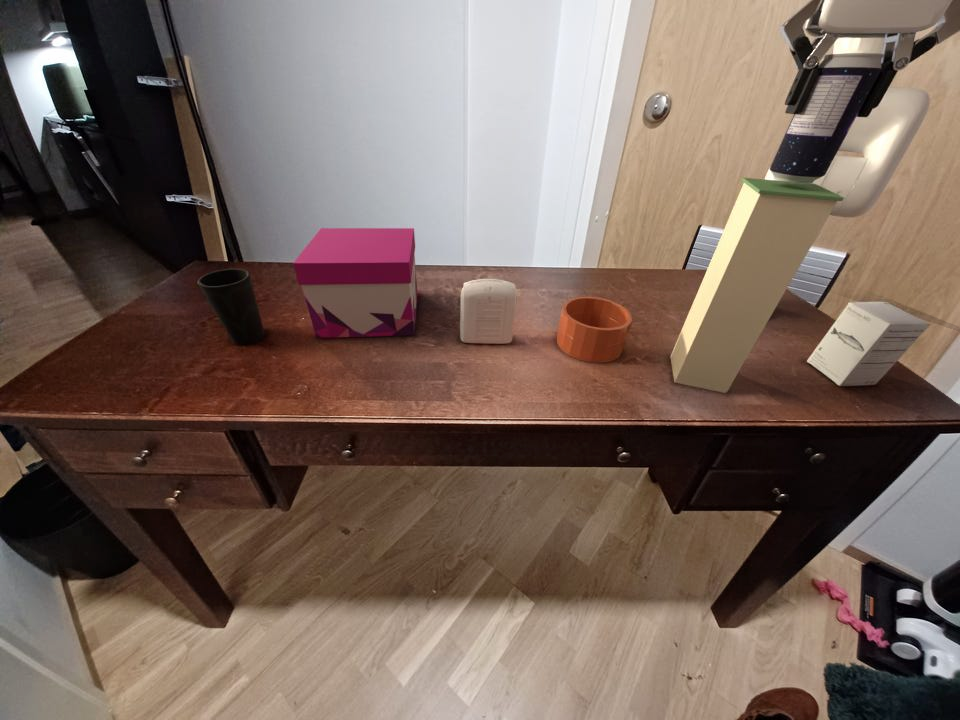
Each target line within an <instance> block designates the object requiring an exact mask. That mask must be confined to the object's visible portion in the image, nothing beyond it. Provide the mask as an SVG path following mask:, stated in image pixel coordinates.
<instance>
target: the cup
mask: <svg viewBox="0 0 960 720" xmlns="http://www.w3.org/2000/svg"><path fill="white" fill-rule="evenodd" d="M197 286H198V287H199V288H200V290H201V292H202V293H203V295H204V296H205V298H206V300H207V302H208V303H209V305H210V307H211V308H212V310H213V313H214V314H215V316H216V317H217V319H218V320H219V322H220V323H221V325H222V327H223V329H224V330H225V332H226V334H227V336H228V337H229V339H230V341H231V343H233V344H235V345H238V346H243V345H244V346H245V345H250V344H253V343H256V342H258V341H260V340H262V339H263V338H264V337H265V335H266V334H265V329H264V324H263V321H262V317H261V314H260V309H259V305H258V301H257V297H256V294H255V290H254V286H253V281H252V277H251V274H250V272H249V271H248V270H245V269H242V268H225V269H220V270H219V269H218V270H215V271H211V272H209V273H206V274H204V275H203V276H201V277H199V279H197Z"/></svg>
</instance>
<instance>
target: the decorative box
mask: <svg viewBox="0 0 960 720" xmlns="http://www.w3.org/2000/svg"><path fill="white" fill-rule="evenodd" d="M415 251H416V236H415V228H414V227H413V228H412V227H409V228H408V227H406V228H405V227H402V228H401V227H398V228H397V227H396V228H395V227H391V228H390V227H383V228H382V227H374V228H373V227H368V228H367V227H362V228H361V227H360V228H359V227H353V228H352V227H343V228H342V227H330V228H329V227H328V228H327V227H321V228H320V229H319V230H318V231H317V233H316V234H315V235H314V236H313V237H312V239H311V240H310V241H309V243H308V244H307V245H306V246H305V247H304V249H303V250H302V251H301V252H300V254H299V255H298V256H297V257H296V259H295V260H294V261H293V262H292V266H293V269H294V273H295V276H296V279H297V283H298V286H301V289H302V292H303V296H304V300H305V302H306V306H307V307H306V308H307V310H308V314H309V316H310V320H311V321H310V322H311V325H312V328H313V331H314V335H315V338H316V339H325V338H327V339H328V338H329V339H330V338H331V339H332V338H361V337H362V338H363V337H398V336H401V337H403V336H415V331H416V330H415V328H416V316H417V305H418V304H417V303H418V282H417V281H418V280H417V268H416V258H415V257H416V256H415V255H416V254H415V253H416V252H415Z"/></svg>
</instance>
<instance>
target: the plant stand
mask: <svg viewBox="0 0 960 720" xmlns="http://www.w3.org/2000/svg"><path fill="white" fill-rule="evenodd" d="M836 203H837V201H834V200H823V199H812V198H802V197H791V196H780V195H769V194H758V193H757V192H756V191H754V190H753V189H752V188H751V187H749V186H748V185H747V184H745V183H744V182H743V184H742V187H741V188H740V191H739V194H738V196H737V199H736V201H735V204H734V205H733V208H732V210H731V213H730V214H729V217H728V219H727V221H726V224H725V227H724V229H723V231H722V234H721V237H720V238H719V240H718V243H717V246H716V247H715V251H714V252H713V255H712V258H711V260H710V261H709V265H708V267H707V269H706V272H705V274H704V276H703V279H702V281H701V283H700V285H699V288H698V291H697V293H696V295H695V298H694V300H693V302H692V305H691V307H690V309H689V311H688V314H687V317H686V319H685V321H684V323H683V326H682V328H681V331H680V332H679V335H678V338H677V340H676V343H675V344H674V347H673V350H672V352H671V354H670V357H669V358H670V362H671V370H672V377H673V382H674V384H675V383H676V384H680V385H685V386H690V387H694V388H699V389H704V390H707V391H708V390H709V391H713V392H716V393H717V392H718V393H722V394H727V393H728V391H729V389H730V388H731V386H732V384H733V382H734V380H735V379H736V377H737V375H738V374H739V372H740V371H741V369H742V367H743V365H744V363H745V362H746V360H747V358H748V357H749V355H750V353H751V352H752V350H753V348H754V346H755V344H756V343H757V341H758V339H759V338H760V336H761V334H762V332H763V330H765V327H766V325H768V322H769V321H770V319H771V317H772V315H773V314H774V311H775V310H776V308H777V306H778V305H779V303H780V301H781V300H782V298H783V296H784V294H785V293H786V291H787V289H788V288H789V286H790V284H791V282H792V280H793V279H794V277H795V275H796V274H797V272H798V270H799V269H800V266H801V265H802V263H803V261H804V259H805V258H806V256H807V255H808V253H809V252H810V250H811V248H812V246H813V244H814V243H815V241H816V239H817V238H818V236H819V234H820V233H821V231H822V229H823V228H824V225H825V223H826V222H827V220H828V218H829V217H830V216H831V215H830V213H831V211H832V210H833V208H834V206H835V204H836Z"/></svg>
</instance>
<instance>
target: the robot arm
mask: <svg viewBox="0 0 960 720" xmlns="http://www.w3.org/2000/svg"><path fill="white" fill-rule="evenodd" d="M804 25H805V26H804ZM935 25H936V26H935ZM934 26H935V27H934ZM932 27H934V29H932V30H931V31H929V32H928V33H927V34H925V35H924V36H922V37H921V38H917V39H916V34H917V33H919V32H922V31H927V30H928V29H930V28H932ZM779 31H780V33H781V35H782V37H783V39H784V41H785V43H786V45H788V47H789V51H790V54H791V56H792V58H793V60H794V62H795V64H796V65H795V69H796V70H797V72H796V74H795V77H794V80H793V81H792V83H791V86H790V89H789V91H788V93H787V96H786V98H785V100H784V105H785V106H786V109H785V112H784V113H785V114H788V115H794V114H799V113H801V112H802V110H803V108H804V106H805V104H806V102H807V99H808V97H809V95H810V93H811V91H812V88H813V86H814V84H815V82H816V80H817V78H818V75H819V73H820V71H819V69H817V68H818V66H819V65H820V63H821V60H822V59H824V57H825V55H827V53H828V52H829V50H830V49H831V48H832V47H833V49H832V50H833V51H832V52H833V53H832V54H842V53H878V54H884V57H883V58H882V60H881V72H880V74H879V76H878V77H877V79H876V81H875V83H874V85H873V87H872V89H871V90H870V92H869V94H868V96H867V98H866V100H865V102H864V103H863V105H862V107H861V109H860V111H859V113H858V115H857V116H856V118H855V120H854V122H853V124H852V126H851V128H850V129H849V131H848V133H847V135H846V137H845V139H844V141H843V142H842V144H841V146H840V148H839V150H838V152H847V153H857V154H862V155H863V157H860V156H851V155H849V156H848V155H838V154H836V156H835V157H834V159H833V161H832V163H831V165H830V167H829V169H828V170H827V172H826V174H825V175H824V176H823V177H821V178H819V179H817V180H815V181H814V182H813V183H812V184H817V185H819V186H821V187H823V188H825V189H827V190H829V191H831V192H833V193H835V194H838V195H840V196H842V197H844V199H843V201H837V203H836V204H835V206H834V208H833V210H832V211H831V213H830V215H829V216H833V217H839V218H858V217H861V216H863V215H864V214H866V213H868V211H870V210H871V209H872V208H873V206H874V205H875V204H876V203H877V201H878V200H879V198H880V197H881V196H882V194H883V192H884V190H885V189H886V187H887V186H888V184H889V182H890V181H891V178H892V177H893V175H894V173H895V172H896V169H897V168H898V166H899V165H900V163H901V161H902V159H903V158H904V155H905V154H906V152H907V150H908V148H909V147H910V145H911V143H912V142H913V140H914V138H915V136H916V135H917V133H918V131H919V129H920V127H921V125H922V123H923V121H924V120H925V117H926V115H927V113H928V110H929V107H930V102H931V101H930V100H931V99H930V94H929V93H928V91H926V90H924V89H922V88H916V87H904V86H903V87H901V86H900V87H899V86H898V87H897V86H891V84H892V82H893V81H894V79H895V77H896V76H897V74H898V72H899V71H902V70H904V69H905V68H906V67H907V66H908V65H910V63H913V62H914V61H916V60H917V59H918V58H920V57H921V56H923V55H924V54H926V53H928V52H929V51H930V50H932V49H933V48H934V47H935V46H938V45H939V44H941V43H943V42H944V41H946V40H947V39H950V38H951V37H952V36H955V35H956V34H957V33H958V32H960V0H809V1H808V2H807V3H806V4H805V5H803V6H802V7H801V8H800V9H799V10H797V12H795V13H794V14H793V15H792V16H791V17H790V18H788V19H787V20H786V21H785V22H784V23H783V24H782V25H781V27H780V30H779ZM806 34H807V35H808V36H810V37H812V38H814V39H813V41H812V42H811V40H810V38H809V37H808V36H807V35H806ZM915 39H916V40H915ZM764 180H776V181H781V180H777V179H774V178H773V174H772V173H771V171H770V167H769V168H768V170H767V172H766V174H765V177H764Z"/></svg>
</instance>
